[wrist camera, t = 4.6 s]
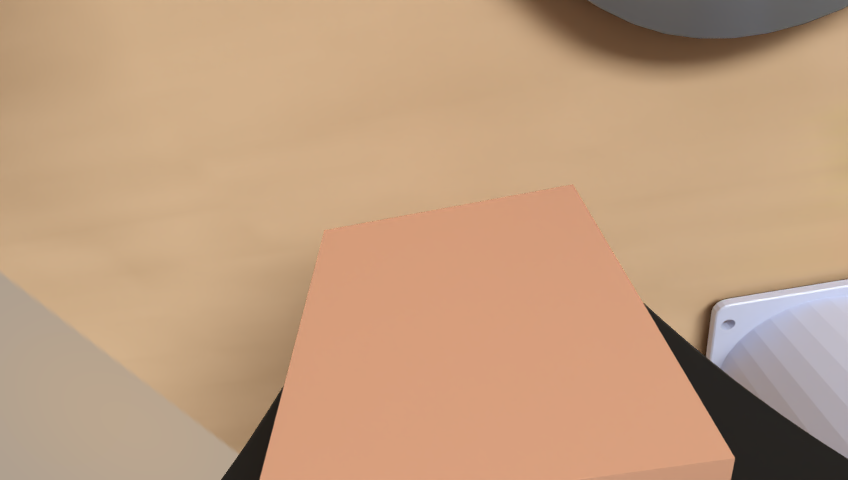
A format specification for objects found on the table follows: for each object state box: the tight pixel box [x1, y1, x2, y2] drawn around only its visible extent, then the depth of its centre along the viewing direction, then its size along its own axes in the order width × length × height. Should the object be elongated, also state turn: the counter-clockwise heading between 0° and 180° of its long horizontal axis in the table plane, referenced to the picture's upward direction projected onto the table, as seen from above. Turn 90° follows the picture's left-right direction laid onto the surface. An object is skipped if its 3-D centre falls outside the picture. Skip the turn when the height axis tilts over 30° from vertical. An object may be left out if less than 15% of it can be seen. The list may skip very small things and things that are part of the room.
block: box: [260, 185, 735, 480], centre depth 9 cm, size 5×5×6 cm
